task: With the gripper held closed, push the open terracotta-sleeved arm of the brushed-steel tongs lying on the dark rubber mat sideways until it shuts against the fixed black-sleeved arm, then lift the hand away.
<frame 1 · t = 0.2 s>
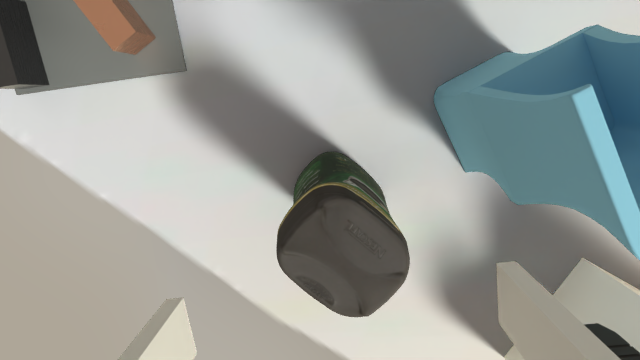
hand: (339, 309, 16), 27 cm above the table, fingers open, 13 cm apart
coffee jar: (339, 192, 43), on the table
white slotted block: (605, 343, 47), on the table
vase: (488, 111, 41), on the table
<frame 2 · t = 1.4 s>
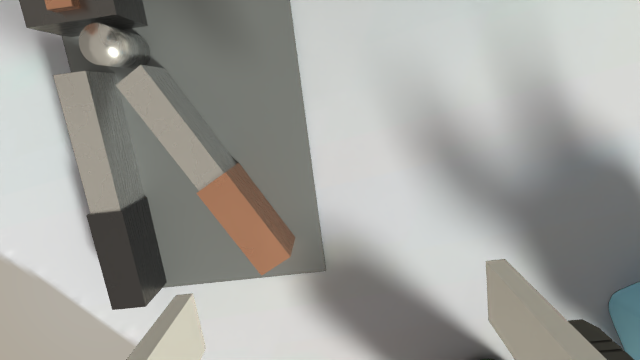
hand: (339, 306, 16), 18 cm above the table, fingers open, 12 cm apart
tongs arm: (197, 151, 31), point 3 cm above the table, hinge at 28.0°
tongs fixed: (97, 56, 32), resting on mat
mat: (197, 132, 33), on the table
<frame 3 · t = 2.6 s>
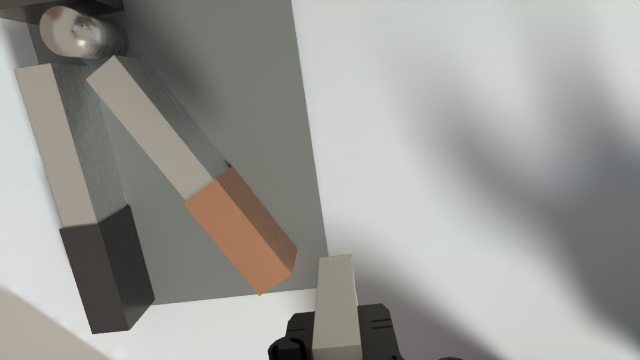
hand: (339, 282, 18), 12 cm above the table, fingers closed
tongs arm: (183, 154, 27), point 3 cm above the table, hinge at 28.0°
tongs fixed: (68, 47, 28), resting on mat
mat: (185, 132, 29), on the table
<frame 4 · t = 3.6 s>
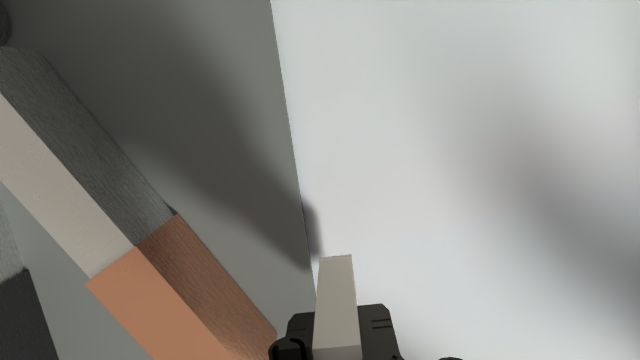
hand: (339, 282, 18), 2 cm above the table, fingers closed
tongs arm: (92, 201, 17), point 3 cm above the table, hinge at 28.0°
mat: (106, 162, 19), on the table
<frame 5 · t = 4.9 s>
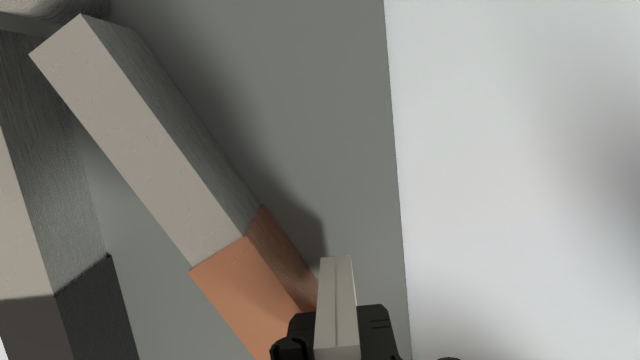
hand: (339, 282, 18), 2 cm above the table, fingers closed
tongs arm: (191, 188, 16), point 3 cm above the table, hinge at 25.8°, touching gripper
tongs fixed: (13, 7, 17), resting on mat
mat: (198, 145, 19), on the table
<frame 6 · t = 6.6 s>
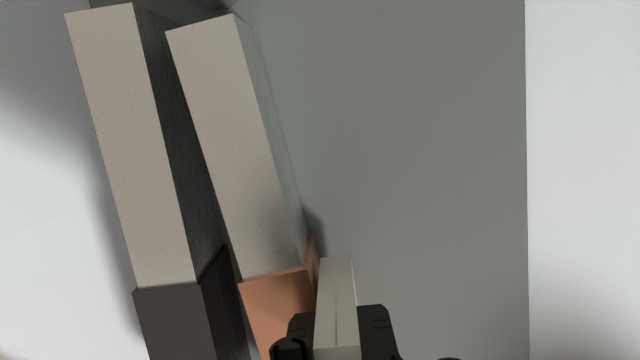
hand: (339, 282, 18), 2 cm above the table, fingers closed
tongs arm: (262, 201, 16), point 3 cm above the table, hinge at 5.8°, touching gripper
mat: (321, 130, 18), on the table
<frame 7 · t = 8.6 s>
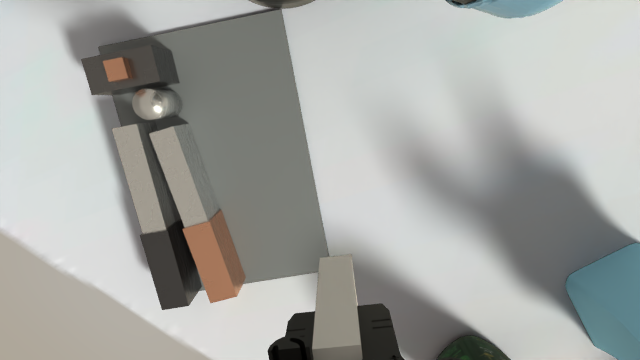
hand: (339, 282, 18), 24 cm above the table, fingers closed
tongs arm: (193, 196, 39), point 3 cm above the table, hinge at 5.8°
tongs fixed: (140, 109, 40), resting on mat
vase: (617, 292, 43), on the table
mat: (222, 163, 41), on the table
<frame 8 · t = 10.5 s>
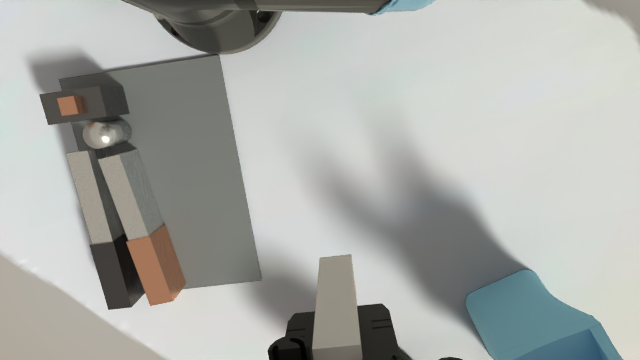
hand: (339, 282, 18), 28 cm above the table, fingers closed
tongs arm: (137, 212, 45), point 3 cm above the table, hinge at 5.8°
tongs fixed: (95, 134, 46), resting on mat
vase: (510, 311, 50), on the table
mat: (166, 184, 47), on the table
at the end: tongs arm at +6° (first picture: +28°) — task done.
